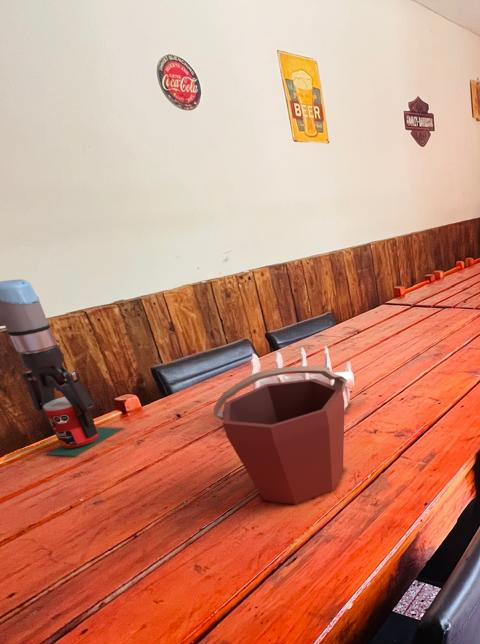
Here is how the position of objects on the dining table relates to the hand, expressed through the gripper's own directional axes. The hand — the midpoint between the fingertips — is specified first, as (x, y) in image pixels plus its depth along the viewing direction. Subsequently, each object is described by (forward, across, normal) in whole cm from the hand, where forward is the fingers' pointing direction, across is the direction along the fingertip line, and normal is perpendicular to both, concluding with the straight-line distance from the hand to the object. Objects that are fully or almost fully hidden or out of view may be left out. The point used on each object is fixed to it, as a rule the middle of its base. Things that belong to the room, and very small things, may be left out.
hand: (78, 435), depth 128 cm
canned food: (+2, 0, 0) cm, 2 cm away
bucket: (+3, -67, +11) cm, 68 cm away
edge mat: (+2, 0, -1) cm, 3 cm away
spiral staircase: (+3, -52, -22) cm, 57 cm away
